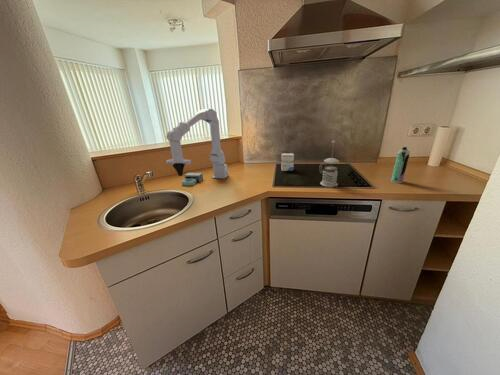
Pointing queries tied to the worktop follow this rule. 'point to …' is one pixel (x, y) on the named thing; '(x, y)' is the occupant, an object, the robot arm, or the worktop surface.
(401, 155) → the spray can
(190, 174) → the low shelf
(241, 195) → the worktop surface
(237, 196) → the worktop surface
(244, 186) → the worktop surface
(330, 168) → the french press
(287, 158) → the ink box
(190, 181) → the tray shell
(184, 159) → the robot arm
